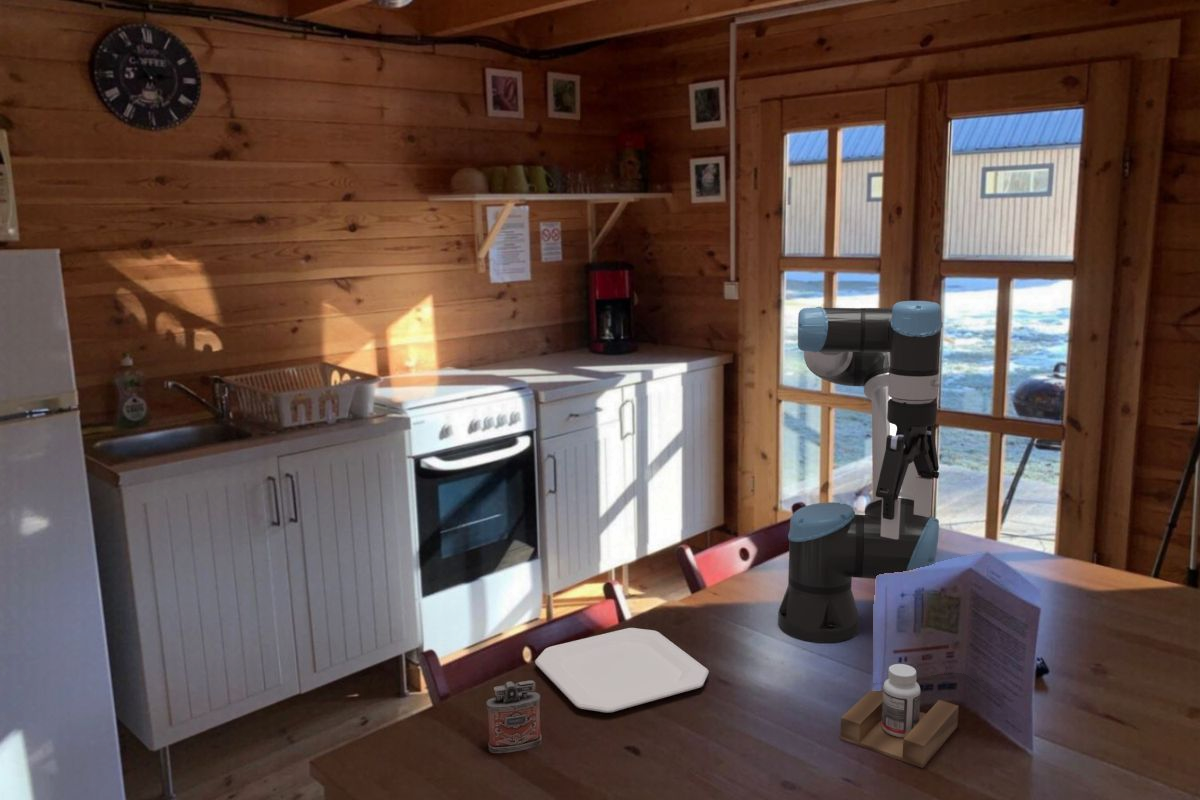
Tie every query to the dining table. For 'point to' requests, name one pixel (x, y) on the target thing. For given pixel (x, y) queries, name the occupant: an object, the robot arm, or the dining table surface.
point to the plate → (620, 669)
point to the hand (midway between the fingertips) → (906, 526)
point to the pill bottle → (900, 701)
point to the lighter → (514, 717)
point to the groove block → (914, 749)
